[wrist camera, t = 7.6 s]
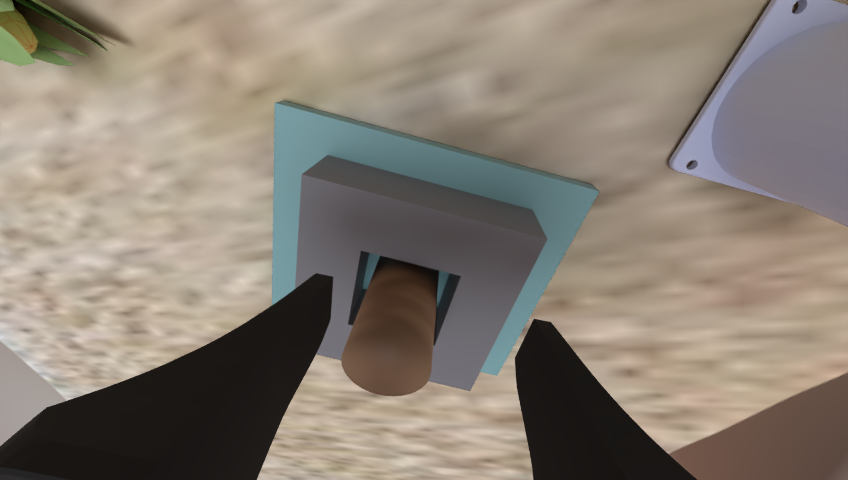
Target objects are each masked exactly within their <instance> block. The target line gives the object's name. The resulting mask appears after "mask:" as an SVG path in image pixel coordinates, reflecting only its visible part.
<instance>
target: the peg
mask: <svg viewBox="0 0 848 480" xmlns="http://www.w3.org/2000/svg"><path fill="white" fill-rule="evenodd" d="M438 279H439V270H435V269H431V268H428V267H424V266H420V265H416V264H412V263H408V262H404V261H400V260H396V259H392V258H388V257H384V256H380V257H379V260H378V262H377V265H376V268H375V270H374V273H373V275H372V278H371V280H370V283H369V286H368V288H367V291H366V293H365V296H364V299H363V301H362V304H361V306H360V309H359V312H358V314H357V317H356V319H355V322H354V325H353V327H352V330H351V332H350V335H349V337H348V340H347V343H346V345H345V348H344V350H343V353H342V358H341V361H342V367H343V369H344V371H345V373H346V375H347V376H348V377H349V378H350V379H351V380H352V381H353V382H354V383H355V384H356V385H358V386H359V387H361V388H363V389H365V390H367V391H369V392H372V393H375V394H379V395H385V396H402V395H407V394H411V393H413V392H415V391H418V390H419V389H421V388H422V387H423V386H424V385H425V384H426V383H427V382H428V380H429V378H430V375H431V369H432V356H433V343H434V330H435V318H436V305H437V292H438Z"/></svg>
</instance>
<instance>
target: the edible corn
mask: <svg viewBox="0 0 848 480" xmlns="http://www.w3.org/2000/svg"><path fill="white" fill-rule="evenodd" d="M16 1H17V2H19V3H21V4H23V5H25V6H27V7H29V8H31V9H33V10H35V11H37V12H39V13H40V14H42V15H44V16H46V17H48V18H50V19H52V20H54V21H56V22H58V23H60V24H61V25H63V26H65V27H67V28H68V29H70V30H72V31H74V32H75V33H77V34H79V35H80V36H82V37H84V38H86V39H87V40H89V41H91V40H90V39H88V38H87V37H85V36H83V35H82V34H80V33H78V32H77V31H75V30H73V29H72V28H70V27H68V26H67V25H65V24H63V23H61V22H60V21H58V20H56V19H55V18H53V17H51V16H50V15H48V14H46V13H45V12H47V13H49V14H51V15H52V16H54V17H56V18H58V19H60V20H61V21H63V22H65V23H67V24H69V25H72V26H74V27H76V28H79V29H81V30H83V31H85V32H88V33H90V34H92V35H94V36H97V37H99V38H101V39H103V40H105V39H104V38H102V37H100V36H98V35H97V34H95V33H93V32H92V31H90V30H88V29H87V28H85V27H83V26H81V25H80V24H78V23H76V22H75V21H73V20H71V19H70V18H68V17H66V16H64V15H63V14H61V13H59V12H58V11H56V10H54V9H53V8H51V7H49V6H47V5H46V4H44V3H42V2H41V1H39V0H26V1H28V2H29V3H31V4H33V5H35V6H36V7H38V8H40V9H42V10H44V11H45V12H43V11H41V10H39V9H38V8H36V7H34V6H33V5H31V4H29V3H28V2H26V1H24V0H16ZM105 41H107V40H105ZM91 42H93V41H91ZM107 42H109V41H107ZM93 43H94V42H93ZM109 43H110V42H109ZM94 44H96V43H94ZM111 44H112V43H111ZM96 45H98V44H96ZM113 45H114V44H113ZM42 46H43V47H42ZM98 46H99V45H98ZM44 47H48V48H52V49H57V50H61V51H66V52H70V53H75V54H79V55H84V56H87V55H86V54H84V53H82V52H80V51H78V50H77V49H75V48H73V47H71V46H69V45H68V44H66V43H64V42H62V41H61V40H59V39H57V38H55V37H53V36H52V35H50V34H48V33H46V32H44V31H43V30H41V29H39V28H37V27H36V26H34V25H33V24H32V23H30V22H29V21H28V20H26V19H25V18H24V17H23V16H22V15H21V14H20V13H19V12H18V10H17V9H16V8H15V7H14V6H13V2H12V1H11V0H0V60H3V61H6V62H9V63H12V64H15V65H18V66H23V65H27V64H32V63H37V62H36V61H35V60H34V59H33V58H35V59H39V60H42V61H46V62H49V63H53V64H57V65H74V64H72V63H71V62H69V61H67V60H65V59H64V58H62V57H60V56H58V55H57V54H55V53H53V52H51V51H49V50H48V49H46V48H44ZM100 47H101V46H100ZM101 48H102V47H101ZM103 49H104V48H103ZM106 51H107V50H106ZM88 57H89V56H88Z"/></svg>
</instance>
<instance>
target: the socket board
mask: <svg viewBox="0 0 848 480" xmlns="http://www.w3.org/2000/svg"><path fill="white" fill-rule="evenodd" d="M598 193H599V191H598V190H597V189H596V188H595V187H594V186H593V185H590V184H587V183H583V182H579V181H576V180H572V179H568V178H565V177H561V176H557V175H554V174H550V173H547V172H543V171H539V170H536V169H532V168H528V167H525V166H521V165H517V164H514V163H510V162H506V161H503V160H499V159H495V158H492V157H488V156H484V155H481V154H477V153H473V152H470V151H466V150H462V149H459V148H455V147H451V146H448V145H444V144H441V143H437V142H433V141H430V140H426V139H422V138H419V137H415V136H411V135H408V134H404V133H400V132H397V131H393V130H389V129H386V128H382V127H378V126H375V125H371V124H367V123H364V122H360V121H356V120H353V119H349V118H346V117H342V116H338V115H335V114H331V113H327V112H324V111H320V110H316V109H313V108H309V107H305V106H302V105H298V104H294V103H291V102H287V101H280V102H276V103H275V127H274V201H273V275H272V305H273V304H275V303H276V302H278V301H279V300H280V299H282V298H283V297H285V296H286V295H287V294H289V293H290V292H291V291H293V290H294V289H295V288H297V287H298V286H299V285H301V284H302V283H303V282H305V281H306V280H307V279H309V278H310V277H311V276H313V275H314V274H316V273H318V274H323V275H328V276H332V277H333V291H332V307H331V320H330V323H329V325H328V328H327V331H326V333H325V336H324V338H323V341H322V343H321V346H320V347H319V349H318V351H317V353H316V354H317V355H321V356H325V357H329V358H334V359H338V360H341V358H342V353H343V350H344V348H345V345H346V343H347V340H348V337H349V335H350V332H351V330H352V327H353V325H354V322H355V319H356V317H357V314H358V312H359V309H360V306H361V304H362V301H363V299H364V296H365V293H366V291H367V288H368V286H369V283H370V280H371V278H372V275H373V273H374V270H375V268H376V265H377V262H378V260H379V257H380V256H384V257H388V258H392V259H396V260H400V261H404V262H408V263H412V264H416V265H420V266H424V267H428V268H431V269H435V270H439V279H438V292H437V305H436V318H435V330H434V343H433V356H432V369H431V375H430V378H429V380H428V381H430V382H434V383H438V384H443V385H447V386H451V387H455V388H459V389H464V390H468V391H470V390H471V388H472V386H473V384H474V382H475V381H476V379H477V377H478V375H479V373H480V372H484V373H488V374H492V375H496V376H497V375H498V373H499V371H500V369H501V368H502V366H503V364H504V362H505V360H506V359H507V357H508V355H509V353H510V351H511V350H512V348H513V346H514V344H515V342H516V341H517V339H518V337H519V335H520V333H521V332H522V330H523V328H524V326H525V324H526V323H527V321H528V319H529V317H530V315H531V314H532V312H533V310H534V308H535V306H536V305H537V303H538V301H539V299H540V297H541V296H542V294H543V292H544V290H545V288H546V287H547V285H548V283H549V281H550V279H551V278H552V276H553V274H554V272H555V270H556V269H557V267H558V265H559V263H560V261H561V260H562V258H563V256H564V254H565V252H566V251H567V249H568V247H569V245H570V243H571V242H572V240H573V238H574V236H575V234H576V233H577V231H578V229H579V227H580V225H581V224H582V222H583V220H584V218H585V216H586V215H587V213H588V211H589V209H590V207H591V206H592V204H593V202H594V200H595V198H596V197H597V195H598Z"/></svg>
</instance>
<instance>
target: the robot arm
mask: <svg viewBox="0 0 848 480" xmlns="http://www.w3.org/2000/svg"><path fill="white" fill-rule="evenodd" d="M796 2H798V5H799V6H798V8H797V10H796V11H795V12H794V13H792V8H793V5H794V4H795V3H796ZM692 160H693V163H692V165H691V166H689V167H686V166H687V163H688V162H689V161H692ZM669 166H670V168H672V169H674V170H676V171H678V172H682V173H685V174H689V175H692V176H696V177H700V178H703V179H707V180H710V181H714V182H717V183H721V184H725V185H728V186H732V187H735V188H739V189H743V190H746V191H750V192H753V193H757V194H760V195H764V196H768V197H771V198H775V199H778V200H782V201H786V202H789V203H793V204H796V205H799V206H801V207H803V208H806V209H808V210H810V211H813V212H815V213H817V214H820V215H822V216H824V217H827V218H829V219H831V220H834V221H836V222H838V223H840V224H843V225H845V226H847V227H848V5H847V4H843V3H840V2H837V1H834V0H771V2H770V3H769V5H768V6H767V8H766V9H765V11H764V13H763V14H762V16H761V17H760V19H759V20H758V22H757V24H756V25H755V27H754V28H753V30H752V31H751V33H750V35H749V36H748V38H747V39H746V41H745V42H744V44H743V45H742V47H741V49H740V50H739V52H738V53H737V55H736V56H735V58H734V60H733V61H732V63H731V64H730V66H729V67H728V69H727V71H726V72H725V74H724V75H723V77H722V78H721V80H720V82H719V83H718V85H717V86H716V88H715V89H714V91H713V92H712V94H711V96H710V97H709V99H708V100H707V102H706V103H705V105H704V107H703V108H702V110H701V111H700V113H699V114H698V116H697V118H696V119H695V121H694V122H693V124H692V125H691V127H690V129H689V130H688V132H687V133H686V135H685V136H684V138H683V139H682V141H681V143H680V144H679V146H678V147H677V149H676V150H675V152H674V154H673V155H672V157H671V158H670V161H669ZM332 291H333V277H332V276H328V275H323V274H318V273H316V274H314V275H313V276H311V277H310V278H309V279H307V280H306V281H305V282H303V283H302V284H301V285H299V286H298V287H297V288H295V289H294V290H293V291H291V292H290V293H289V294H287V295H286V296H285V297H283V298H282V299H280V300H279V301H278V302H276V303H275V304H273V305H272V306H270V307H269V308H268V309H266V310H265V311H263V312H262V313H260V314H258V315H257V316H255V317H254V318H252V319H251V320H249V321H247V322H246V323H244V324H243V325H241V326H239V327H238V328H236V329H234V330H233V331H231V332H229V333H227V334H226V335H224V336H222V337H220V338H218V339H216V340H215V341H213V342H211V343H209V344H207V345H205V346H203V347H201V348H199V349H197V350H195V351H193V352H190V353H188V354H186V355H184V356H182V357H180V358H178V359H175V360H173V361H171V362H169V363H167V364H165V365H162V366H160V367H157V368H155V369H153V370H150V371H148V372H145V373H143V374H140V375H138V376H135V377H133V378H130V379H128V380H125V381H122V382H120V383H117V384H114V385H112V386H109V387H106V388H103V389H100V390H98V391H95V392H92V393H89V394H86V395H83V396H80V397H77V398H74V399H71V400H68V401H65V402H62V403H59V404H56V405H53V406H50V407H47V408H46V409H44V410H43V411H42V412H41V413H39V414H38V415H37V416H36V417H34V418H33V419H32V420H31V421H30V422H28V423H27V424H26V425H25V426H24V427H23V428H21V429H20V430H19V431H18V432H17V433H15V434H14V435H13V436H12V437H11V438H10V439H8V440H7V441H6V442H5V443H4V444H3V445H1V446H0V480H257V478H258V475H259V473H260V470H261V468H262V465H263V463H264V460H265V458H266V456H267V453H268V451H269V448H270V446H271V444H272V441H273V439H274V437H275V434H276V432H277V429H278V427H279V425H280V422H281V420H282V418H283V416H284V414H285V412H286V410H287V408H288V405H289V403H290V402H291V400H292V398H293V396H294V394H295V392H296V390H297V389H298V387H299V385H300V383H301V381H302V379H303V377H304V376H305V374H306V372H307V370H308V368H309V366H310V364H311V363H312V361H313V359H314V357H315V355H316V353H317V351H318V349H319V347H320V346H321V343H322V341H323V338H324V336H325V333H326V331H327V328H328V325H329V323H330V320H331V307H332ZM515 368H516V382H517V390H518V395H519V400H520V406H521V411H522V416H523V421H524V426H525V431H526V436H527V441H528V446H529V451H530V457H531V463H532V470H533V479H534V480H697V479H696V478H695V477H693V476H692V475H691V474H690V473H689V472H687V471H686V470H685V469H684V468H683V467H682V466H681V465H680V464H679V463H677V462H676V461H675V460H674V459H673V458H672V457H671V456H670V455H669V454H668V453H666V452H665V451H664V450H663V449H662V448H661V447H660V446H659V445H658V444H657V443H656V442H655V441H654V440H653V439H652V438H650V437H649V436H648V435H647V434H646V433H645V432H644V431H643V430H642V429H641V428H640V426H639V425H638V424H637V423H636V422H635V421H634V420H633V419H632V418H631V417H630V416H629V415H628V414H627V413H626V412H625V411H624V410H623V409H622V408H621V407H620V406H619V405H618V404H617V402H616V401H615V400H614V399H613V398H612V397H611V396H610V394H609V393H608V392H607V391H606V390H605V389H604V388H603V387H602V385H601V384H600V383H599V382H598V381H597V379H596V378H595V377H594V376H593V375H592V373H591V372H590V371H589V370H588V368H587V367H586V366H585V365H584V364H583V362H582V361H581V360H580V358H579V357H578V356H577V355H576V353H575V352H574V351H573V350H572V348H571V347H570V346H569V344H568V343H567V342H566V341H565V339H564V338H563V337H562V335H561V334H560V333H559V332H558V330H557V329H556V328H555V327H554V325H553V324H552V323H551V322H547V321H542V320H537V319H534V320H533V322H532V324H531V326H530V328H529V330H528V332H527V334H526V336H525V338H524V340H523V342H522V344H521V347H520V349H519V351H518V353H517V355H516V357H515Z"/></svg>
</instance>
